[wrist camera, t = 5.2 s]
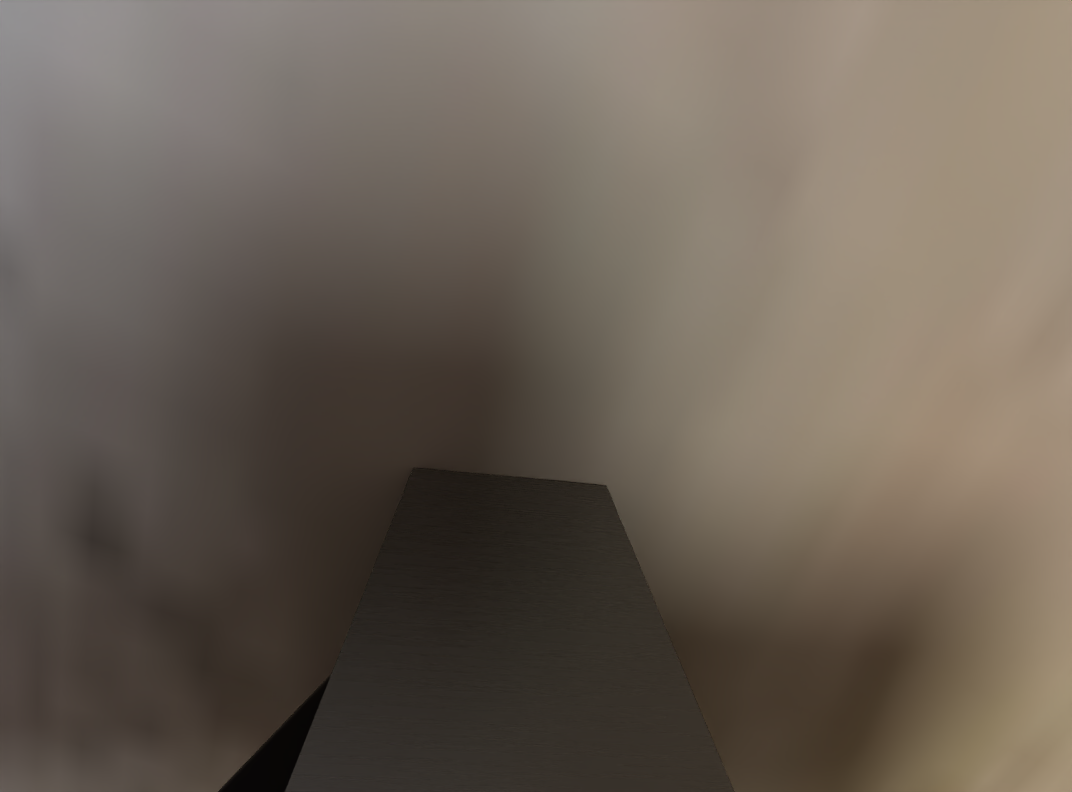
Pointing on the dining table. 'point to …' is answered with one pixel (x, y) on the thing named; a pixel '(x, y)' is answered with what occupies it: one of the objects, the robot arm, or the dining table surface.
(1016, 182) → the dining table surface
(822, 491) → the dining table surface
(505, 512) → the blade tool
